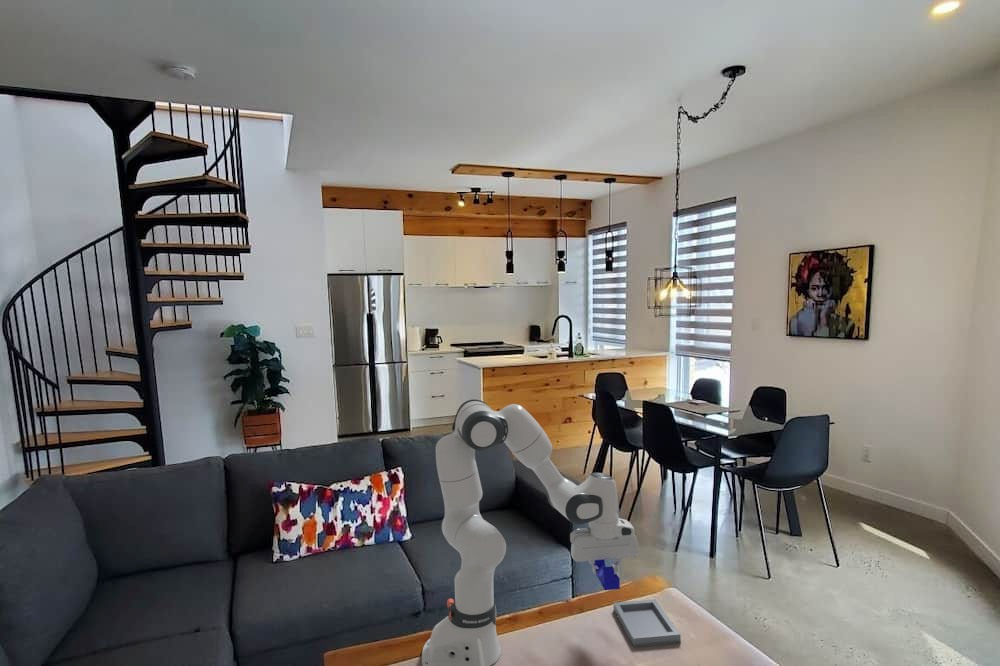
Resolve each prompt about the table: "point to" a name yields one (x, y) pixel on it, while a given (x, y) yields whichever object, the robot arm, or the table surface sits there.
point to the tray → (646, 623)
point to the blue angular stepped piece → (607, 576)
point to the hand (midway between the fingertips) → (605, 572)
